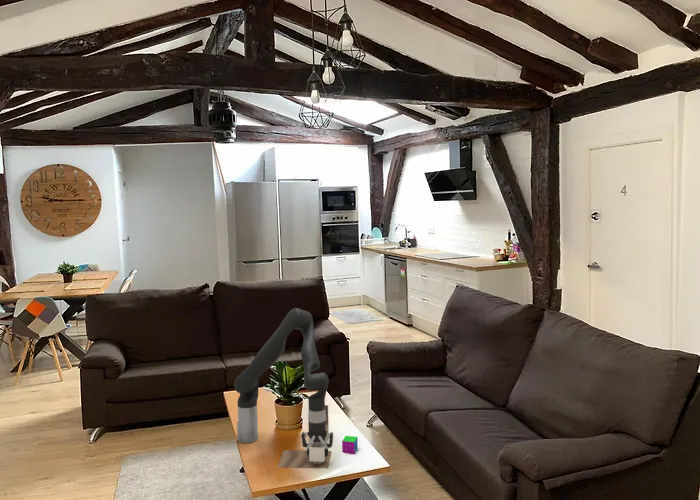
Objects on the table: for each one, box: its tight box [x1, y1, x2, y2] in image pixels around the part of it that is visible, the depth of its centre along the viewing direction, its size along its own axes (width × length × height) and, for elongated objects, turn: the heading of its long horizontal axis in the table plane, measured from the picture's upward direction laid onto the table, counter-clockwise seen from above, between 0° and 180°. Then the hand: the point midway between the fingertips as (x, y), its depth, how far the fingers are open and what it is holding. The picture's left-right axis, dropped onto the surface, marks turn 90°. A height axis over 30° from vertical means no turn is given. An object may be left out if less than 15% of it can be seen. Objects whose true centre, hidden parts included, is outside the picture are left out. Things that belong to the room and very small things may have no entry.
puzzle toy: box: [341, 435, 359, 455], centre depth 252 cm, size 6×6×6 cm
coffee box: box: [325, 404, 330, 442], centre depth 263 cm, size 9×6×16 cm
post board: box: [276, 445, 333, 469], centre depth 242 cm, size 22×16×8 cm
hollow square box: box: [309, 442, 325, 462], centre depth 238 cm, size 6×6×6 cm
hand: (317, 455), depth 238 cm, fingers closed on hollow square box, 6 cm apart
